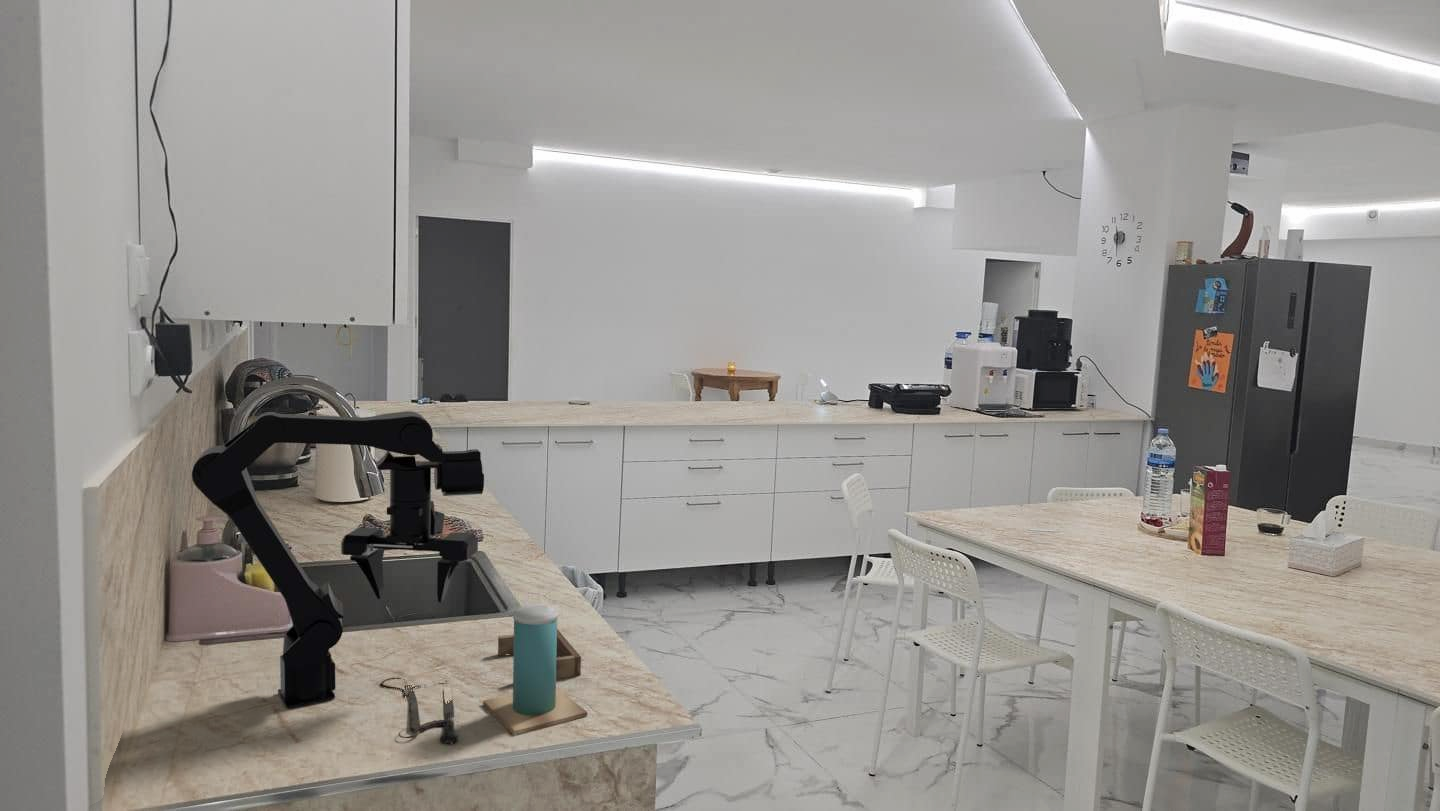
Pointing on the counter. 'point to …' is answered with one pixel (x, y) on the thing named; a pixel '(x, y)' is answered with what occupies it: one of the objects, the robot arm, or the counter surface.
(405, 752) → the counter surface
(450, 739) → the hacksaw
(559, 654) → the cubby
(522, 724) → the mat
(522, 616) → the tin
